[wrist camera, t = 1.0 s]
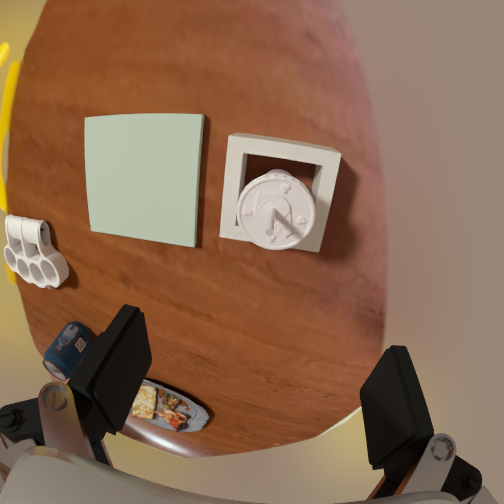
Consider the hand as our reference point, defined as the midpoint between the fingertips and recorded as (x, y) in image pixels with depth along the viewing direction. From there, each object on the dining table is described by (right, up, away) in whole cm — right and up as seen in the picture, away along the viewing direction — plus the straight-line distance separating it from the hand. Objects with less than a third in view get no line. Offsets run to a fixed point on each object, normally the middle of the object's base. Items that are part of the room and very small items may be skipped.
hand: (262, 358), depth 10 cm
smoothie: (+3, +12, +21) cm, 24 cm away
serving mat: (-14, +13, +22) cm, 29 cm away
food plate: (-23, -33, +48) cm, 63 cm away
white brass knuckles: (-41, +4, +30) cm, 51 cm away
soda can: (-36, -13, +38) cm, 54 cm away
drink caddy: (+3, +11, +20) cm, 23 cm away
